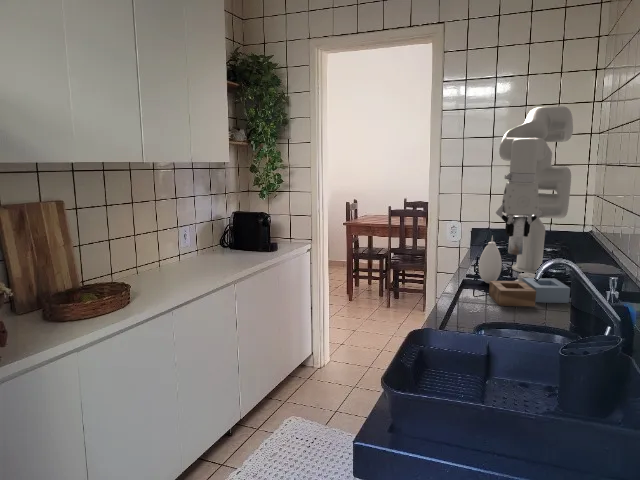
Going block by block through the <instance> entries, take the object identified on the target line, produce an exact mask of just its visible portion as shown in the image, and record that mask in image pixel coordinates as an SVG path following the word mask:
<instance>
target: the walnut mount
mask: <svg viewBox="0 0 640 480" xmlns="http://www.w3.org/2000/svg"><path fill="white" fill-rule="evenodd" d="M488 296H489V297H490V298H491V299H492V300H493V301H494V302H495V303H496V304H497V305H498V306H500V307H536V302H535V299H536V291H535V290H534V289H533V288H531V287H530V286H528V285H527V284H526V283H524V282H523V281H515V280H496V281H490V284H489V288H488Z"/></svg>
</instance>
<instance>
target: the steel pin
mask: <svg viewBox="0 0 640 480" xmlns="http://www.w3.org/2000/svg"><path fill="white" fill-rule="evenodd" d="M525 223H526V216H520V215H514V216H513V219H512V223H511V224H512V225H513V228H512V236H511V237H509V236H508V237H509V239H508V248H507V249H508V250H507V253H508V254H510V255H514V256H515V255H516V256H517V255H521V254H523V245H524V234H525Z"/></svg>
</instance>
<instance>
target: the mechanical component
mask: <svg viewBox="0 0 640 480" xmlns="http://www.w3.org/2000/svg"><path fill="white" fill-rule="evenodd" d="M534 277H535V274H532V273H522V272H519V274H518V277H517V279H515V280H514V281H522V280H523V278H534Z"/></svg>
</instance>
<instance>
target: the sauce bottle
mask: <svg viewBox="0 0 640 480" xmlns="http://www.w3.org/2000/svg"><path fill="white" fill-rule="evenodd" d="M493 236H494V235H491V241H489V242H488V243H487V245H486V246H485V247H484V248H483V251H482V253H481V255H480V258H479V261H478V262H479V263H478V273H479V277H480V279H482V280H483V282H485V283H486V284H489V285H490V281H498V279H499V277H500V275H501V272H502V266H503V265H502V264H503V263H502V256H501V253H500V250H499V249H498V247H497V245H496V244H497V243H496V242H495V241H494V237H493Z"/></svg>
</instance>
